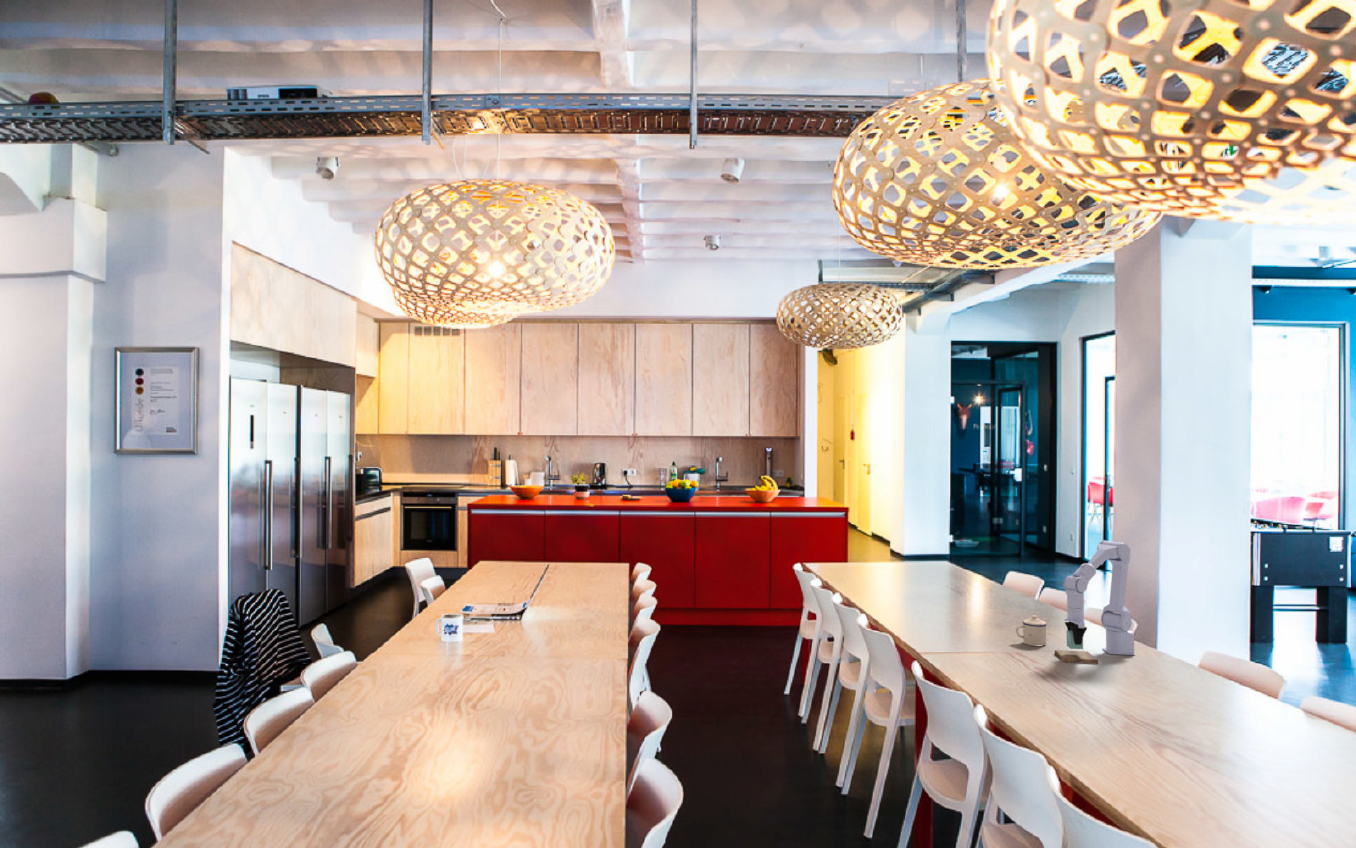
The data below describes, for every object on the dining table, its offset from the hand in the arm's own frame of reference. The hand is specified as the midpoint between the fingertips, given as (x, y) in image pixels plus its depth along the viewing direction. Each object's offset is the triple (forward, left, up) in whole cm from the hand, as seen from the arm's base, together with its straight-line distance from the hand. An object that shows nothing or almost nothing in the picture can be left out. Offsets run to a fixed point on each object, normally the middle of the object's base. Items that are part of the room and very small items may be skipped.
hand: (1075, 642), depth 303 cm
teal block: (0, 0, -2) cm, 2 cm away
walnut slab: (0, 0, -6) cm, 6 cm away
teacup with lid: (+11, -21, -6) cm, 25 cm away
